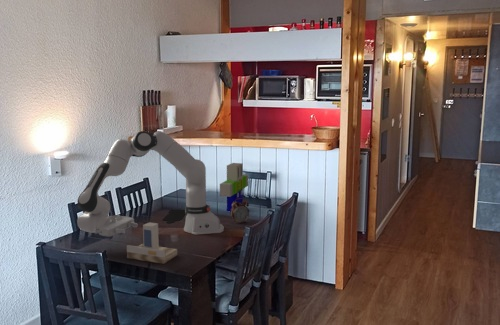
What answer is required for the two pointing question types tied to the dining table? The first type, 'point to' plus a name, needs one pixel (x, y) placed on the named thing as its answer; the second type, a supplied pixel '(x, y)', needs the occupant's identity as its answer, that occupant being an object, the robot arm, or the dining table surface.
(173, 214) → the toy
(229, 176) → the toy
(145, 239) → the carton
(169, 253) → the beige flat block
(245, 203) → the alarm clock
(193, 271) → the dining table surface
